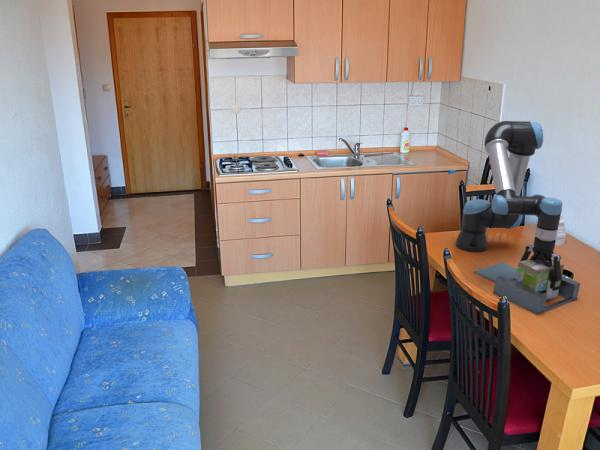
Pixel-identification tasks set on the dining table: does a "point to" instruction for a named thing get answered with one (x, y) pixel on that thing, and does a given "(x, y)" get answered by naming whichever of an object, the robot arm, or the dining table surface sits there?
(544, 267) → the tea box
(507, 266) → the mat
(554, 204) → the robot arm
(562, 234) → the honey pot
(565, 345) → the dining table surface
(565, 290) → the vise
